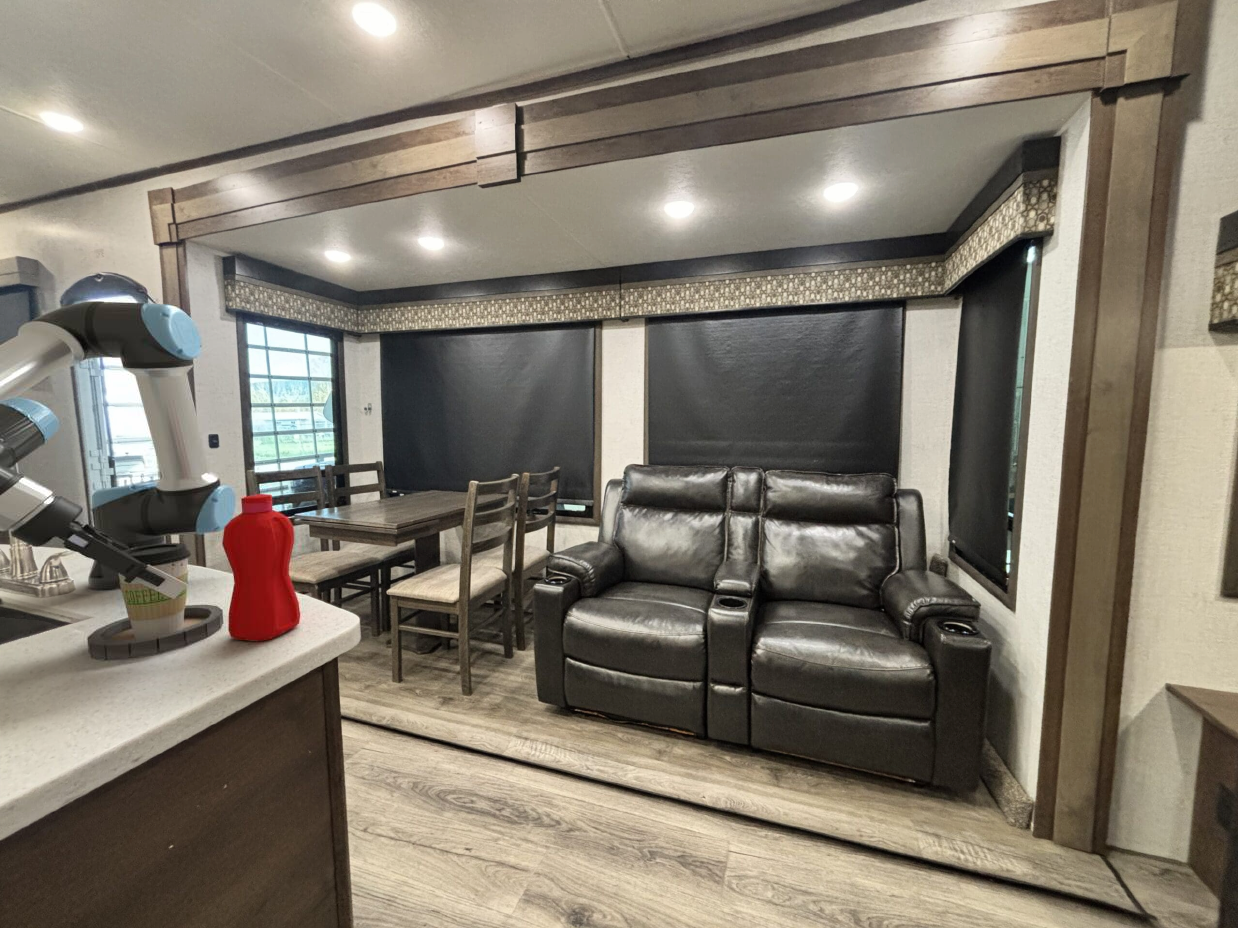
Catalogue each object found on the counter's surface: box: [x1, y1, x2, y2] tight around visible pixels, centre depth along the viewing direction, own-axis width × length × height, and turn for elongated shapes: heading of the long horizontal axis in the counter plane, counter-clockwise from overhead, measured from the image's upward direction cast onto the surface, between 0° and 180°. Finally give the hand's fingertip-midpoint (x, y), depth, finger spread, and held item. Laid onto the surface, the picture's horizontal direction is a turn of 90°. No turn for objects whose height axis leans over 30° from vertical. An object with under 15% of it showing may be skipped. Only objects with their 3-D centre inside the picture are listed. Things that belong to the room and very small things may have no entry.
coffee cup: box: [118, 542, 192, 640], centre depth 85 cm, size 10×10×15 cm
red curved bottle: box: [221, 493, 301, 642], centre depth 86 cm, size 9×11×25 cm
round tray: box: [86, 604, 224, 661], centre depth 86 cm, size 17×17×2 cm
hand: (173, 583), depth 87 cm, fingers open, 13 cm apart
